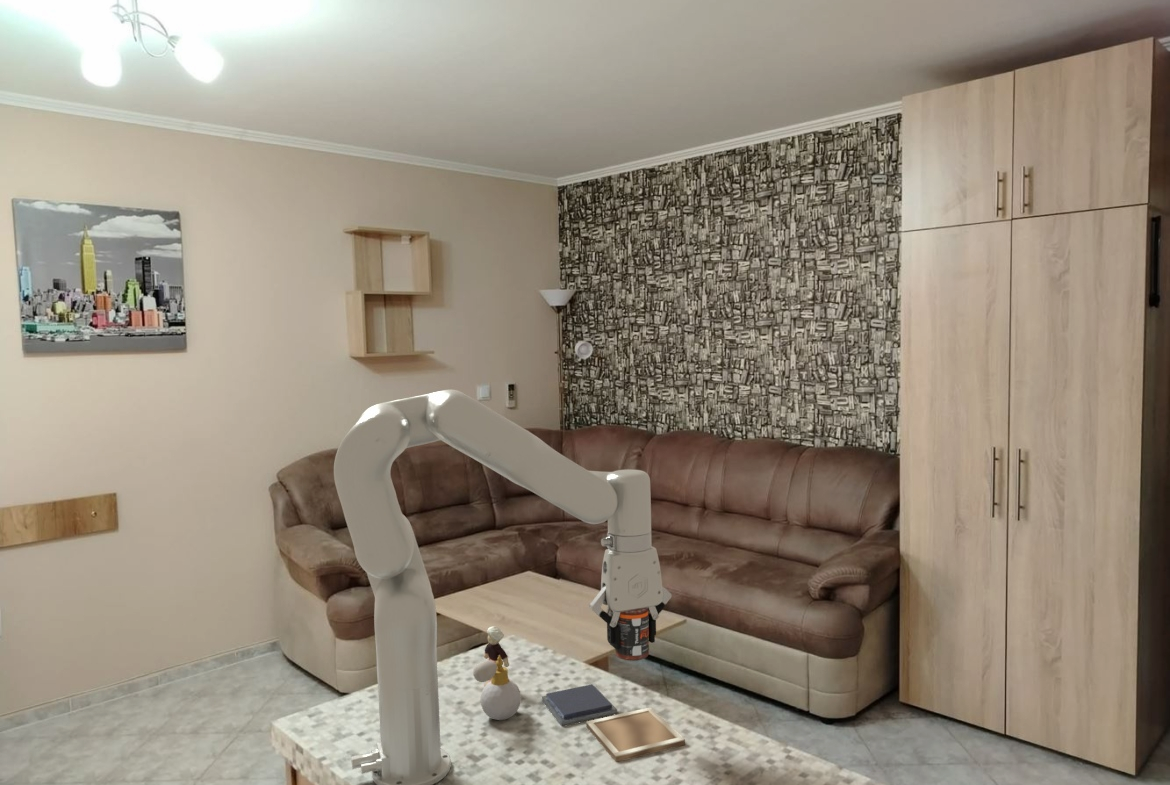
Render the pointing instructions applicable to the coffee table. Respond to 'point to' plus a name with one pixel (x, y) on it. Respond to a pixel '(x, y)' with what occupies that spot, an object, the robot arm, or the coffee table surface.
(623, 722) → the framed board
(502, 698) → the perfume bottle
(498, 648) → the grandmother figurine
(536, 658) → the coffee table surface
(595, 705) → the pad
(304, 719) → the coffee table surface
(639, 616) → the supplement bottle
